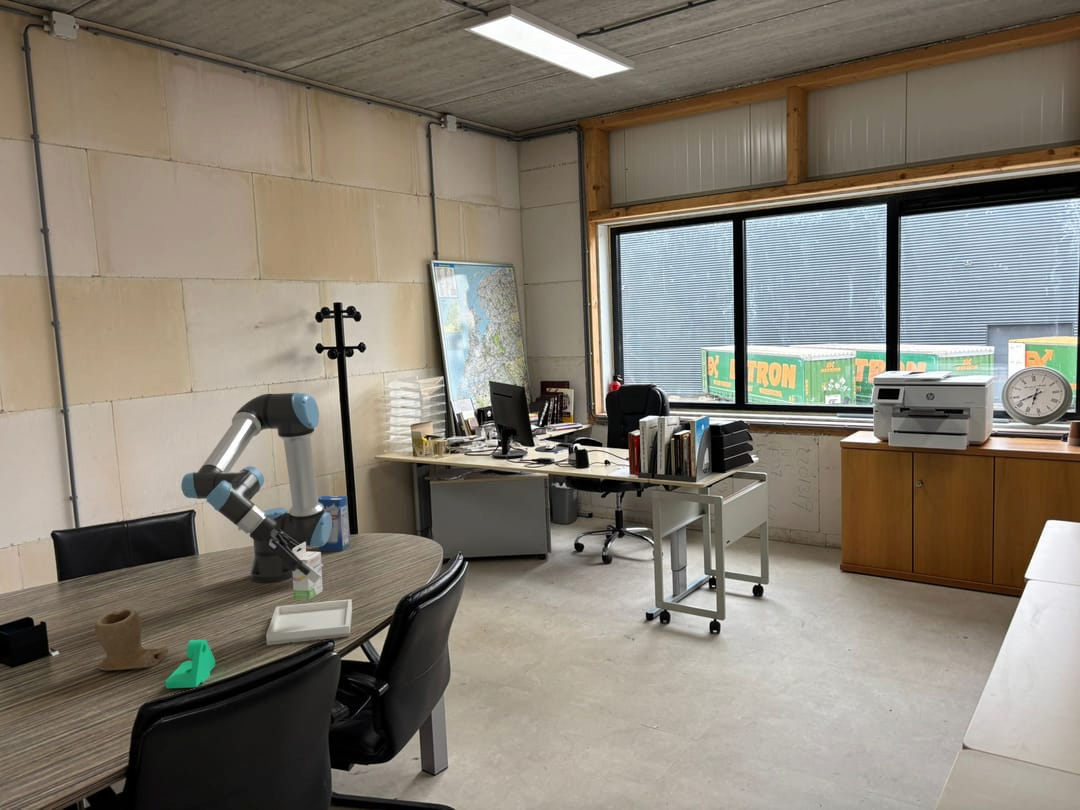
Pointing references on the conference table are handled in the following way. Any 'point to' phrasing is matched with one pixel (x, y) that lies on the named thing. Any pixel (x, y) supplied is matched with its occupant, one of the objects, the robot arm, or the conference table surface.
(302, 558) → the ink box
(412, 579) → the conference table surface
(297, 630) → the tray
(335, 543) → the milk carton
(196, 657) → the camera mount
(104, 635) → the stone cup
